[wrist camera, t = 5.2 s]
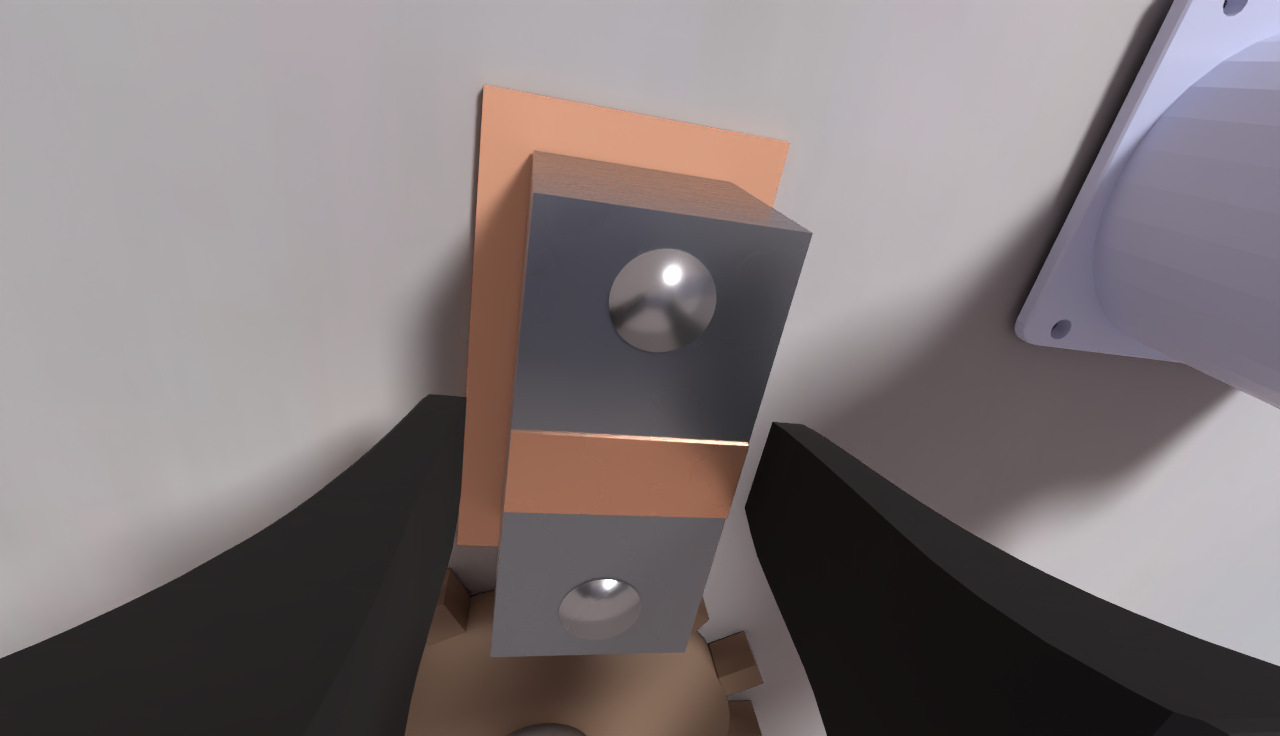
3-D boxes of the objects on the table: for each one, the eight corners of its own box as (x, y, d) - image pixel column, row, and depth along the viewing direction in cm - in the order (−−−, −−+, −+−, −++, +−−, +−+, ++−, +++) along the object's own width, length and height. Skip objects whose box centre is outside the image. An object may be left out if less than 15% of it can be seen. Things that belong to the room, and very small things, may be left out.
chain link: (730, 181, 12) (813, 234, 9) (651, 520, 16) (685, 654, 12) (533, 149, 11) (533, 192, 8) (499, 516, 15) (490, 659, 12)
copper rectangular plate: (786, 141, 12) (790, 142, 12) (676, 547, 17) (677, 552, 17) (484, 84, 11) (483, 85, 11) (457, 540, 16) (457, 545, 15)
